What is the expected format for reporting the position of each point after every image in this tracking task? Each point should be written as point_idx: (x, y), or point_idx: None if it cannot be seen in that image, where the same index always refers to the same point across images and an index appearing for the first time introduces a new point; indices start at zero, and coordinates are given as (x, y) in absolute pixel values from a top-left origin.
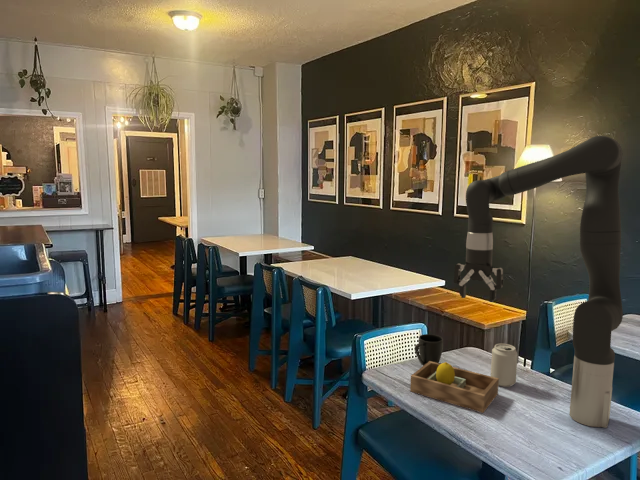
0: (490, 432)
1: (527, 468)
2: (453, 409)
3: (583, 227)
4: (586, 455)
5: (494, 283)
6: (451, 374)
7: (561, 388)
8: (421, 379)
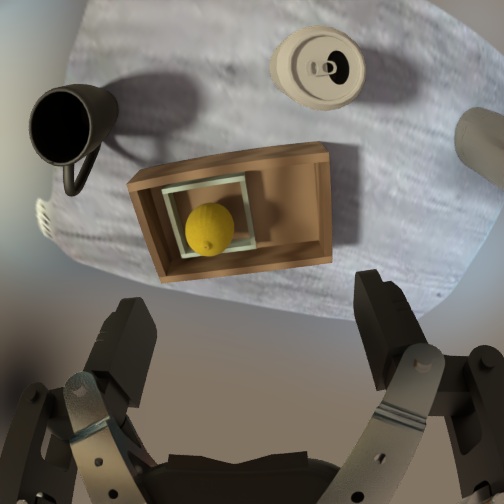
0: (353, 285)
1: None
2: None
3: None
4: (468, 250)
5: (430, 402)
6: (231, 240)
7: (420, 20)
8: (186, 279)
